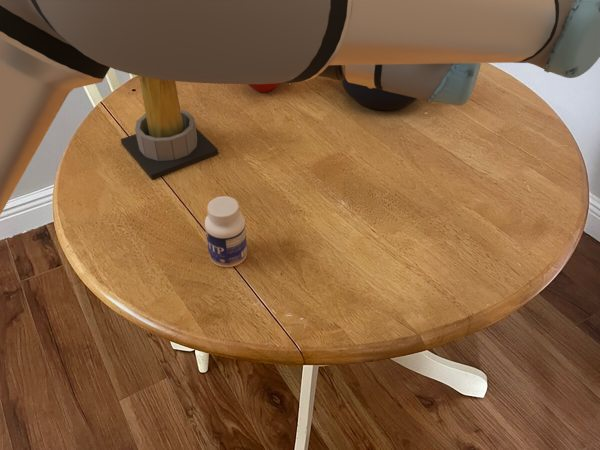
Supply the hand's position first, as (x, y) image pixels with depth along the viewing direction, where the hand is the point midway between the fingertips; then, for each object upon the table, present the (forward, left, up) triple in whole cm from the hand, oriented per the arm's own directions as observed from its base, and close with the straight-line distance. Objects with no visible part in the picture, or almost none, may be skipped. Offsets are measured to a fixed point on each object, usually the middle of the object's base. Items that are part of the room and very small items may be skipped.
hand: (203, 20), depth 79 cm
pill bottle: (-9, -19, -24) cm, 32 cm away
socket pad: (-5, +8, -24) cm, 26 cm away
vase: (-5, +8, -23) cm, 25 cm away
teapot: (+35, +1, -24) cm, 43 cm away
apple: (+19, +16, -24) cm, 35 cm away
